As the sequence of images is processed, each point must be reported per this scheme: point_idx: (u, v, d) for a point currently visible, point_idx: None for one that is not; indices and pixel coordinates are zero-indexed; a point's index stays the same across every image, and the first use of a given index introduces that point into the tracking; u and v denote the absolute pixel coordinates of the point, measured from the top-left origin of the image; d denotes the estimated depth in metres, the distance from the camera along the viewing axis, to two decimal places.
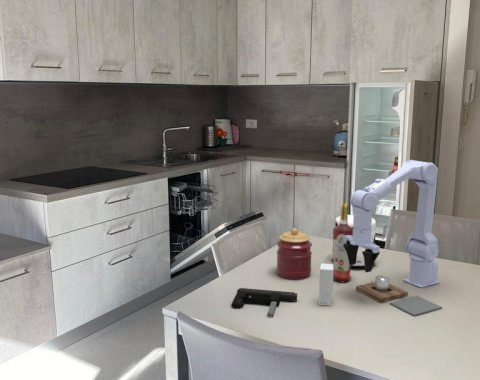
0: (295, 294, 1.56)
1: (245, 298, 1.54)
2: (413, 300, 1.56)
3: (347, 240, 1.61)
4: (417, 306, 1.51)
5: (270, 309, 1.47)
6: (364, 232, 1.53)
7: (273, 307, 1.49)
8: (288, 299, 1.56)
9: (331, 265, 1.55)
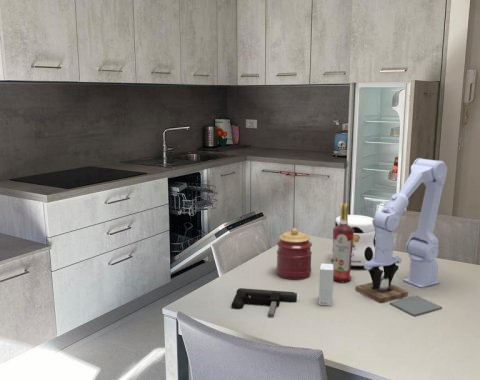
0: (295, 294, 1.56)
1: (245, 298, 1.54)
2: (413, 300, 1.56)
3: None
4: (417, 306, 1.51)
5: (270, 309, 1.47)
6: (375, 250, 1.60)
7: (273, 307, 1.49)
8: (288, 299, 1.56)
9: (331, 265, 1.55)
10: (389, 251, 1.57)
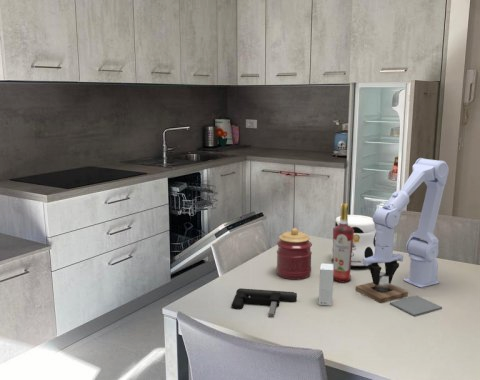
0: (295, 294, 1.56)
1: (245, 298, 1.54)
2: (413, 300, 1.56)
3: (397, 258, 1.63)
4: (417, 306, 1.51)
5: (271, 309, 1.47)
6: (375, 246, 1.60)
7: (273, 307, 1.48)
8: (288, 299, 1.56)
9: (331, 265, 1.55)
10: (388, 248, 1.57)
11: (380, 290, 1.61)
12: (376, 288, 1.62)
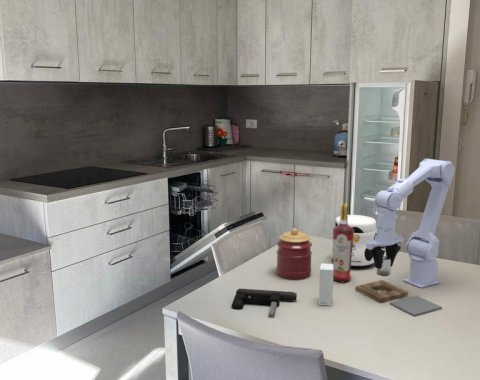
0: (295, 294, 1.56)
1: (245, 299, 1.54)
2: (413, 300, 1.56)
3: None
4: (417, 306, 1.51)
5: (271, 309, 1.47)
6: (377, 229, 1.58)
7: (274, 307, 1.48)
8: (288, 299, 1.56)
9: (331, 265, 1.55)
10: (391, 231, 1.56)
11: (383, 274, 1.59)
12: (378, 272, 1.60)
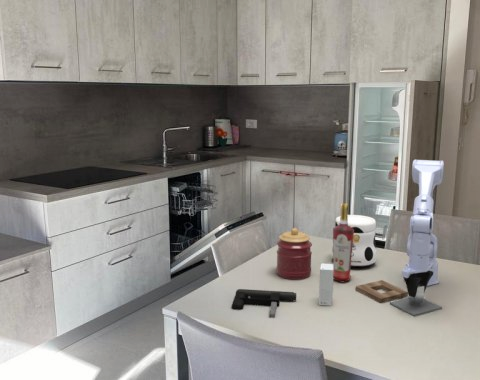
0: (294, 294, 1.56)
1: (245, 299, 1.54)
2: None
3: None
4: (417, 306, 1.51)
5: (271, 309, 1.47)
6: (411, 255, 1.49)
7: (274, 307, 1.48)
8: (288, 299, 1.56)
9: (331, 265, 1.55)
10: (427, 256, 1.47)
11: (417, 302, 1.50)
12: (412, 300, 1.51)
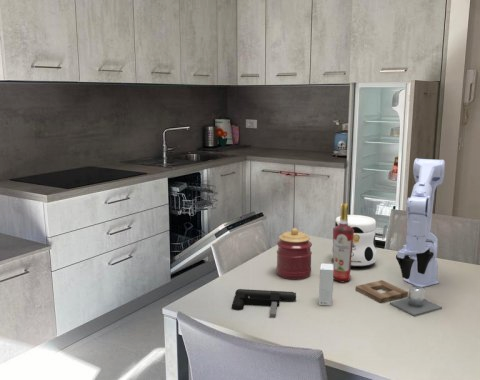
0: (294, 294, 1.56)
1: (245, 299, 1.53)
2: None
3: None
4: None
5: (272, 309, 1.47)
6: (407, 237, 1.50)
7: (274, 307, 1.48)
8: (287, 299, 1.56)
9: (331, 265, 1.55)
10: (423, 238, 1.48)
11: (417, 305, 1.50)
12: (412, 303, 1.51)
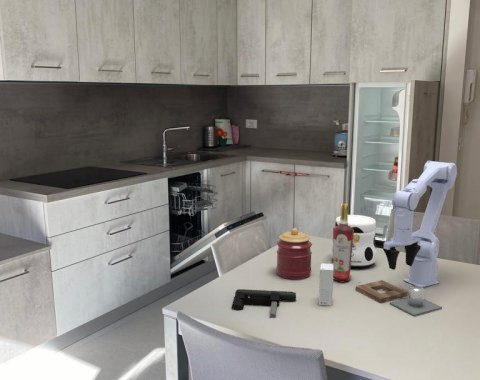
0: (294, 293, 1.56)
1: (245, 299, 1.53)
2: None
3: None
4: None
5: (272, 309, 1.47)
6: (394, 229, 1.58)
7: (274, 307, 1.48)
8: (287, 299, 1.56)
9: (331, 265, 1.55)
10: (409, 231, 1.56)
11: (417, 305, 1.50)
12: (412, 303, 1.51)
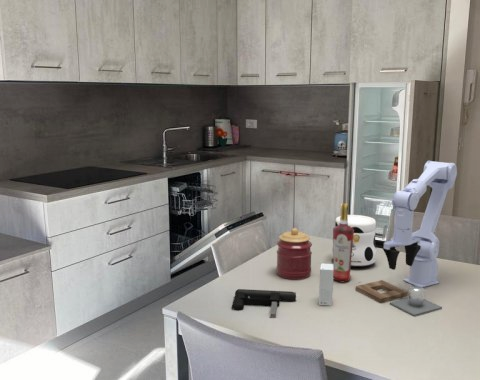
0: (294, 293, 1.56)
1: (245, 299, 1.53)
2: None
3: None
4: None
5: (272, 309, 1.47)
6: (394, 229, 1.58)
7: (275, 307, 1.48)
8: (287, 299, 1.56)
9: (331, 265, 1.55)
10: (409, 231, 1.56)
11: (417, 305, 1.50)
12: (412, 303, 1.51)
